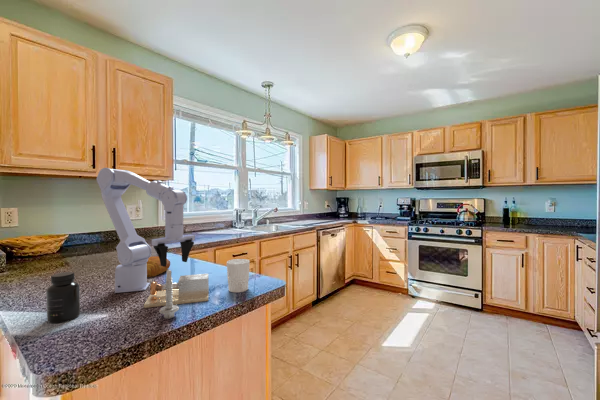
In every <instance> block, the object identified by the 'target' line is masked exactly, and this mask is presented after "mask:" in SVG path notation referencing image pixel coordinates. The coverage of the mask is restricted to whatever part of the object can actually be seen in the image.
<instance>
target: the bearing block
mask: <svg viewBox="0 0 600 400" xmlns="http://www.w3.org/2000/svg"><path fill="white" fill-rule="evenodd" d="M177 281H178V282H177V283H179V289H178V290H173V292H172V293H173V294H172V295H173V296H172V297H173V298H172V299H173V300H172V301H173V305H182V304H191V303H198V302H208V301H209V289H210V288H209V287H210V285H209V273H197V274H185V275H180V276H179V279H178V280H177ZM165 297H166V291H157V294H156V295H151V294H149V296H148V297H147V298H146V301H145V302H144V304H143V309H146V308H154V307H156V308H157V307H164V306H166V300H165V299H166V298H165Z"/></svg>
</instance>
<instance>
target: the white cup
mask: <svg viewBox="0 0 600 400" xmlns="http://www.w3.org/2000/svg"><path fill="white" fill-rule="evenodd" d="M250 263H251V262H250V259H246V258H234V259H229V260H227V261H226V274H227V275H226V277H227V286H228V291H229V293H243V292H246V291H248V290H249V279H250Z"/></svg>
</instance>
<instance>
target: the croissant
mask: <svg viewBox="0 0 600 400" xmlns="http://www.w3.org/2000/svg"><path fill="white" fill-rule="evenodd" d="M170 266H171V260H170V259H168V258H167V264H166V266H161V263H160V259H159V256H158V255H156V256H155V255H154V256H153V255H151V256H150V258H148V262H147V278H151V277H156V276H159V275H162V274H163V273H165V272H167V270H168V269H169V268H170Z"/></svg>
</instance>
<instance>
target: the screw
mask: <svg viewBox="0 0 600 400" xmlns="http://www.w3.org/2000/svg"><path fill="white" fill-rule="evenodd" d="M172 283H174V282H173V276H172V270H171V269H169V268H168V270H166V278H165V283H164V284H165V285H166V286H165V287H166V288H165V289H166V297H165V298H166V299H165V300H166V306H161V308H159V311H158V312H159V314H162V315H164V319H169V320H170V319H172V318H174V317H175V313H176V312H178V311H179V309H180V307H179V306H178V305H177V304H175V305H173V301H172V300H173V299H172V298H173V297H172V296H173V295H172V294H173V293H172V292H173V290H172V289H173V288H172V287H173V286H172V285H173V284H172Z"/></svg>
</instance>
